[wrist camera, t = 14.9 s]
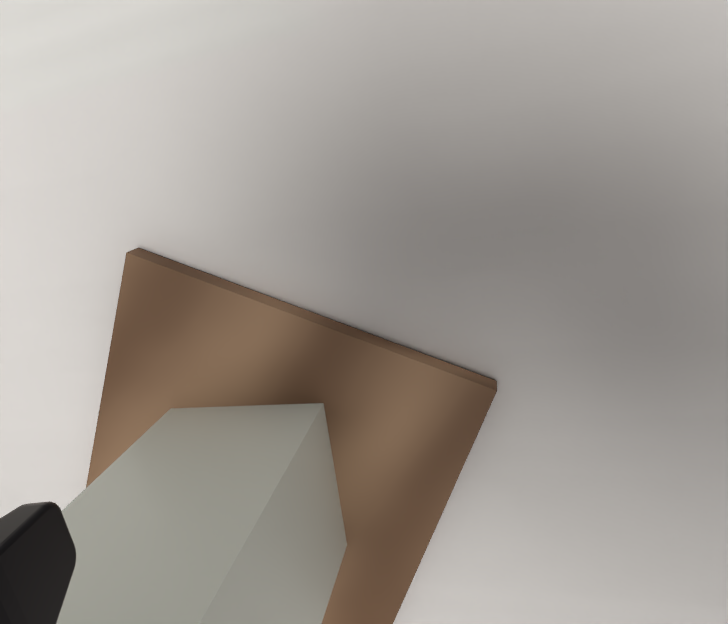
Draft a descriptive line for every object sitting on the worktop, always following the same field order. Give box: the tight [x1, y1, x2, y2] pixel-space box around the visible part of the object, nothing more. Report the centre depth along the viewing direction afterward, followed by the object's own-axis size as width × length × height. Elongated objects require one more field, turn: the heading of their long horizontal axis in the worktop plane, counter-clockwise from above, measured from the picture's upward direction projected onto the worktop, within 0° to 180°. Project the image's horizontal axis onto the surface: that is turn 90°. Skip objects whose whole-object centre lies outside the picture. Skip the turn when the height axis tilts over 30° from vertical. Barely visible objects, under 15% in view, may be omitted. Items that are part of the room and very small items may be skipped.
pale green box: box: [56, 403, 347, 624], centre depth 18 cm, size 6×6×12 cm
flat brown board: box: [86, 248, 497, 624], centre depth 22 cm, size 14×14×5 cm
